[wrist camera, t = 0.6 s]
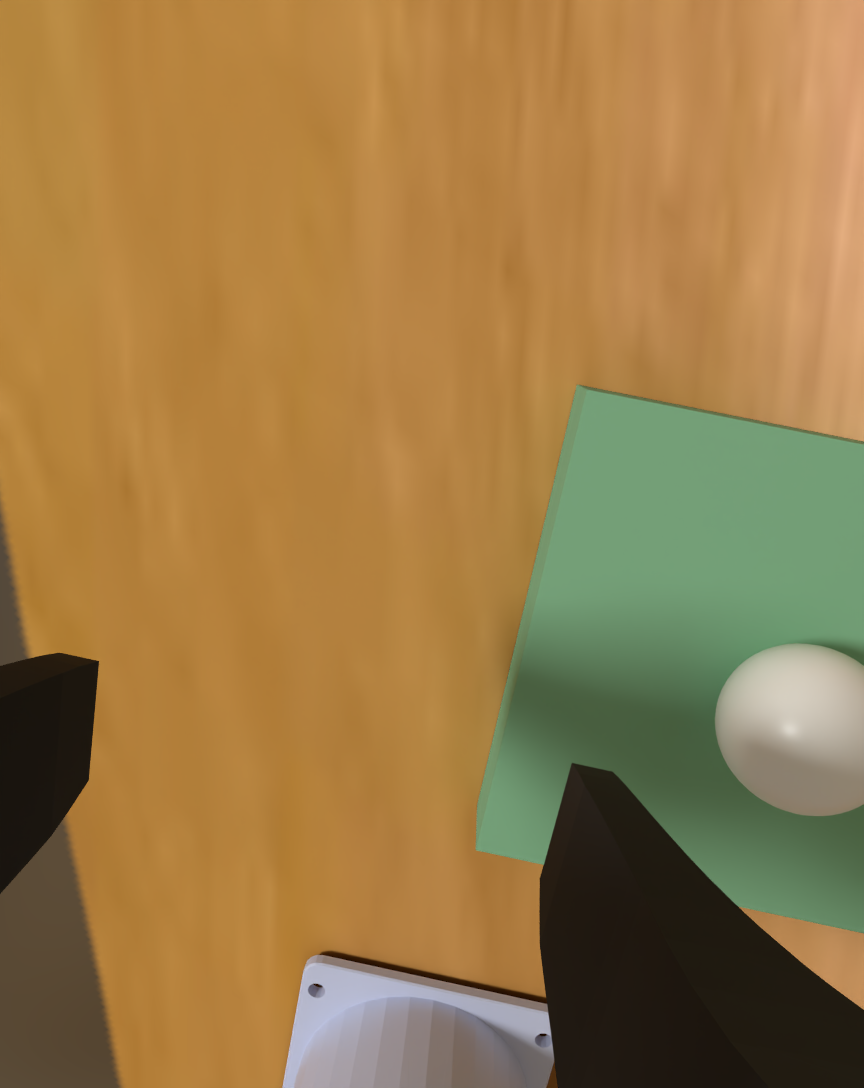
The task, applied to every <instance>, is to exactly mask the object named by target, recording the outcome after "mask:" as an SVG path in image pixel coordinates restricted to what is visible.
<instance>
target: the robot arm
mask: <svg viewBox="0 0 864 1088" xmlns="http://www.w3.org/2000/svg"><path fill="white" fill-rule="evenodd" d="M98 666H99V661H96V660H91V659H86V658H82V657H77V656H72V655H68V654H63V653H55V654H49V655H43V656H38V657H34V658H30V659H26V660H22V661H18V662H14V663H10V664H6V665H3V666H0V893H1V892H2V891H3V890H4V889H5V888H6V887H7V886H8V884H9V883H10V882H11V881H12V880H13V879H14V878H15V877H16V875H17V874H18V873H19V872H20V871H21V870H22V869H23V868H24V866H25V865H26V864H27V863H28V862H29V861H30V860H31V859H32V857H33V856H34V855H35V854H36V853H37V852H38V851H39V849H40V848H41V847H42V846H43V845H44V843H45V842H46V841H47V840H48V839H49V838H50V837H51V835H52V834H53V832H54V831H55V830H56V828H57V827H58V825H59V824H60V823H61V821H62V820H63V818H64V817H65V815H66V814H67V813H68V811H69V810H70V808H71V807H72V805H73V803H74V802H75V800H76V799H77V797H78V796H79V794H80V793H81V791H82V790H83V788H84V787H85V785H86V784H87V782H88V780H89V770H90V758H91V747H92V735H93V724H94V712H95V701H96V689H97V678H98ZM540 949H541V958H542V967H543V975H544V983H545V991H546V999H547V1004H545V1003H540V1002H535V1001H531V1000H526V999H522V998H517V997H513V996H508V995H503V994H499V993H494V992H490V991H485V990H481V989H476V988H471V987H467V986H462V985H458V984H453V983H449V982H444V981H439V980H435V979H430V978H426V977H421V976H417V975H412V974H407V973H403V972H398V971H394V970H389V969H385V968H380V967H375V966H371V965H366V964H362V963H357V962H353V961H348V960H343V959H339V958H334V957H330V956H325V955H316V956H312V957H311V958H310V959H308V960H307V963H306V965H305V968H304V972H303V976H302V982H301V987H300V993H299V999H298V1004H297V1010H296V1015H295V1021H294V1026H293V1032H292V1037H291V1043H290V1049H289V1054H288V1060H287V1065H286V1071H285V1076H284V1082H283V1087H282V1088H546V1087H547V1084H548V1080H549V1077H550V1074H551V1070H552V1067H553V1064H554V1061H555V1069H556V1077H557V1084H558V1088H864V1010H863V1009H862V1008H860V1007H859V1006H858V1005H856V1004H855V1003H854V1002H852V1001H851V1000H849V999H848V998H847V997H845V996H844V995H843V994H841V993H840V992H839V991H837V990H836V989H834V988H833V987H832V986H830V985H829V984H828V983H827V982H825V981H824V980H823V979H821V978H820V977H819V976H818V975H816V974H815V973H814V972H813V971H811V970H810V969H809V968H807V967H806V966H805V965H804V964H803V963H801V962H800V961H799V960H798V959H797V958H795V957H794V956H793V955H792V954H791V953H790V952H788V951H787V950H786V949H785V948H784V947H783V946H781V945H780V944H779V943H778V942H777V941H776V940H774V939H773V938H772V937H771V936H770V935H769V934H767V933H766V932H765V931H764V930H763V929H761V928H760V927H759V926H758V925H757V924H756V923H755V922H754V921H753V920H752V919H751V918H749V917H748V916H747V915H746V914H745V913H744V912H743V911H742V910H741V909H740V908H739V907H738V906H737V905H736V904H735V903H734V902H733V901H732V900H731V899H730V898H729V897H728V896H727V895H726V894H725V893H724V892H723V891H722V890H721V889H720V888H719V887H718V886H717V885H716V884H715V883H714V882H713V881H712V880H710V879H709V877H708V876H707V875H706V874H705V873H704V872H703V871H702V870H701V869H700V868H699V867H698V866H697V865H696V864H695V863H694V862H693V861H692V860H691V858H690V857H689V856H688V855H687V854H686V853H685V852H684V851H683V850H682V849H681V848H680V846H679V845H678V844H677V843H676V842H675V841H674V840H673V839H672V838H671V836H670V835H669V834H668V833H667V832H666V831H665V830H664V829H663V827H662V826H661V825H660V824H659V823H658V822H657V821H656V819H655V818H654V817H653V816H652V815H651V814H650V812H649V811H648V810H647V809H646V808H645V807H644V805H643V804H642V803H641V802H640V801H639V800H638V799H637V797H636V796H635V795H634V794H633V793H632V792H631V790H630V789H629V788H628V787H627V786H626V785H625V784H624V783H623V782H622V780H621V779H620V778H619V777H618V776H617V775H616V774H615V773H614V772H612V771H608V770H603V769H598V768H594V767H589V766H584V765H580V764H575V763H572V764H571V767H570V771H569V775H568V778H567V782H566V786H565V789H564V793H563V797H562V800H561V804H560V808H559V811H558V815H557V819H556V822H555V826H554V829H553V833H552V837H551V840H550V844H549V848H548V851H547V855H546V859H545V862H544V866H543V870H542V873H541V877H540ZM313 984H320V985H322V986H323V987H317V986H315V985H313ZM539 1034H547V1035H546V1036H540V1035H539Z"/></svg>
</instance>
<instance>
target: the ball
mask: <svg viewBox="0 0 864 1088" xmlns="http://www.w3.org/2000/svg"><path fill="white" fill-rule="evenodd" d="M715 730H716V736H717V741H718V745H719V748H720V750H721V753H722V755H723V758H724V760H725V761H726V763H727V765H728V767H729V768H730V770H731V771H732V773H733V774H734V775H735V776H736V778H737V779H738V780H739V781H740V782H741V783H742V784H743V785H744V786H745V787H746V788H747V789H748V790H749V791H750V792H751V793H753V794H754V795H755V796H757V797H758V798H760V799H761V800H763V801H765V802H767V803H768V804H770V805H772V806H774V807H776V808H779V809H781V810H784V811H787V812H791V813H795V814H799V815H806V816H830V815H836V814H841V813H844V812H848V811H851V810H853V809H855V808H858V807H860V806H861V805H863V804H864V666H863V665H862V664H860V663H859V662H858V661H856V660H855V659H853V658H851V657H849V656H848V655H846V654H843V653H841V652H838V651H836V650H833V649H831V648H827V647H824V646H819V645H812V644H800V643H794V644H784V645H780V646H775V647H771V648H768V649H765V650H763V651H761V652H759V653H756V654H754V655H753V656H751V657H750V658H748V659H747V660H745V661H744V662H743V663H742V664H740V665H739V666H738V667H737V668H736V669H735V670H734V671H733V673H732V674H731V675H730V677H729V678H728V679H727V681H726V683H725V684H724V686H723V688H722V690H721V693H720V695H719V698H718V702H717V706H716V713H715Z"/></svg>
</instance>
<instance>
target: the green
mask: <svg viewBox="0 0 864 1088" xmlns="http://www.w3.org/2000/svg"><path fill="white" fill-rule="evenodd" d="M794 643H800V644H812V645H819V646H824V647H827V648H831V649H833V650H836V651H838V652H841V653H843V654H846V655H848V656H849V657H851V658H853V659H855V660H856V661H858V662H859V663H860V664H862V665H863V666H864V442H863V441H858V440H853V439H848V438H843V437H838V436H833V435H828V434H823V433H818V432H813V431H807V430H802V429H797V428H792V427H787V426H782V425H777V424H772V423H767V422H762V421H757V420H752V419H747V418H742V417H737V416H732V415H727V414H722V413H717V412H712V411H707V410H702V409H697V408H692V407H687V406H682V405H677V404H672V403H667V402H662V401H657V400H652V399H647V398H642V397H637V396H632V395H627V394H622V393H617V392H612V391H607V390H602V389H597V388H592V387H587V386H582V385H577V387H576V391H575V396H574V400H573V404H572V408H571V412H570V417H569V421H568V425H567V429H566V433H565V438H564V442H563V446H562V450H561V455H560V459H559V463H558V467H557V471H556V476H555V480H554V484H553V488H552V492H551V497H550V501H549V505H548V509H547V513H546V518H545V522H544V526H543V530H542V535H541V539H540V543H539V547H538V551H537V556H536V560H535V564H534V568H533V572H532V577H531V581H530V585H529V589H528V593H527V598H526V602H525V606H524V610H523V615H522V619H521V623H520V627H519V631H518V636H517V640H516V644H515V648H514V652H513V657H512V661H511V665H510V669H509V673H508V678H507V682H506V686H505V690H504V695H503V699H502V703H501V707H500V711H499V716H498V720H497V724H496V728H495V732H494V737H493V741H492V745H491V749H490V753H489V758H488V762H487V766H486V770H485V775H484V779H483V783H482V787H481V791H480V796H479V800H478V804H477V827H476V850H477V851H482V852H487V853H491V854H496V855H501V856H505V857H510V858H515V859H519V860H524V861H529V862H533V863H538V864H543V865H544V862H545V859H546V855H547V851H548V848H549V844H550V840H551V837H552V833H553V829H554V826H555V822H556V819H557V815H558V811H559V808H560V804H561V800H562V797H563V793H564V789H565V786H566V782H567V778H568V775H569V771H570V767H571V764H572V763H575V764H580V765H584V766H589V767H594V768H598V769H603V770H608V771H612V772H614V773H615V774H616V775H617V776H618V777H619V778H620V779H621V780H622V782H623V783H624V784H625V785H626V786H627V787H628V788H629V789H630V790H631V792H632V793H633V794H634V795H635V796H636V797H637V799H638V800H639V801H640V802H641V803H642V804H643V805H644V807H645V808H646V809H647V810H648V811H649V812H650V814H651V815H652V816H653V817H654V818H655V819H656V821H657V822H658V823H659V824H660V825H661V826H662V827H663V829H664V830H665V831H666V832H667V833H668V834H669V835H670V836H671V838H672V839H673V840H674V841H675V842H676V843H677V844H678V845H679V846H680V848H681V849H682V850H683V851H684V852H685V853H686V854H687V855H688V856H689V857H690V858H691V860H692V861H693V862H694V863H695V864H696V865H697V866H698V867H699V868H700V869H701V870H702V871H703V872H704V873H705V874H706V875H707V876H708V877H709V879H710V880H712V881H713V882H714V883H715V884H716V885H717V886H718V887H719V888H720V889H721V890H722V891H723V892H724V893H725V894H726V895H727V896H728V897H729V898H730V899H731V900H732V901H733V902H734V903H735V904H736V905H737V906H739V907H743V908H748V909H753V910H757V911H762V912H767V913H771V914H776V915H781V916H785V917H790V918H795V919H799V920H804V921H809V922H813V923H818V924H823V925H827V926H832V927H837V928H841V929H846V930H851V931H855V932H860V933H864V804H863V805H861V806H860V807H858V808H855V809H853V810H851V811H848V812H844V813H841V814H836V815H830V816H806V815H799V814H795V813H791V812H787V811H784V810H781V809H779V808H776V807H774V806H772V805H770V804H768V803H767V802H765V801H763V800H761V799H760V798H758V797H757V796H755V795H754V794H753V793H751V792H750V791H749V790H748V789H747V788H746V787H745V786H744V785H743V784H742V783H741V782H740V781H739V780H738V779H737V778H736V776H735V775H734V774H733V773H732V771H731V770H730V768H729V767H728V765H727V763H726V761H725V760H724V758H723V755H722V753H721V750H720V748H719V745H718V741H717V736H716V730H715V713H716V706H717V702H718V698H719V695H720V693H721V690H722V688H723V686H724V684H725V683H726V681H727V679H728V678H729V677H730V675H731V674H732V673H733V671H734V670H735V669H736V668H737V667H738V666H739V665H740V664H742V663H743V662H744V661H745V660H747V659H748V658H750V657H751V656H753V655H754V654H756V653H759V652H761V651H763V650H765V649H768V648H771V647H775V646H780V645H784V644H794Z"/></svg>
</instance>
